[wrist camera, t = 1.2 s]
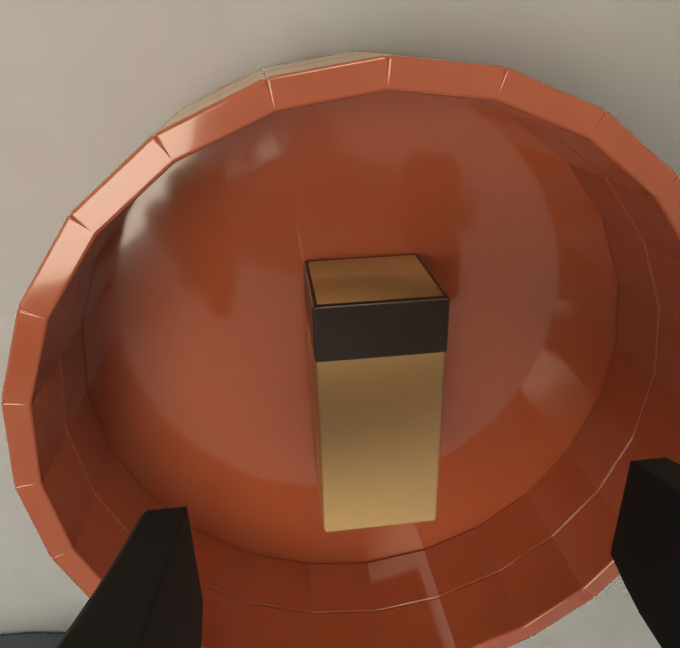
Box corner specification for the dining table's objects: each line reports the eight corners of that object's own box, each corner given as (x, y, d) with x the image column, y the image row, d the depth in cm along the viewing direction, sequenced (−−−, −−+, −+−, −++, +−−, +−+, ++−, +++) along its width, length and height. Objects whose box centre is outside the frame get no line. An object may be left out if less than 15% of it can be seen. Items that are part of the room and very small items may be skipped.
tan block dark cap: (412, 452, 16) (438, 522, 14) (313, 461, 16) (323, 535, 14) (417, 253, 14) (451, 297, 12) (303, 260, 14) (311, 307, 11)
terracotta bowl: (667, 439, 18) (769, 539, 14) (245, 622, 19) (242, 757, 15) (539, -74, 12) (658, -123, 8) (-68, 234, 13) (-192, 309, 9)
